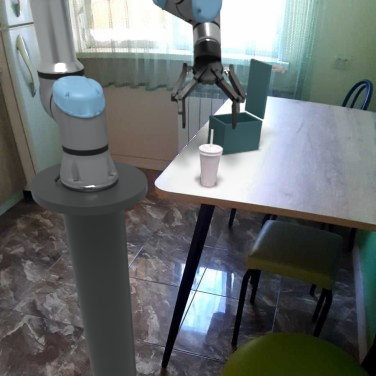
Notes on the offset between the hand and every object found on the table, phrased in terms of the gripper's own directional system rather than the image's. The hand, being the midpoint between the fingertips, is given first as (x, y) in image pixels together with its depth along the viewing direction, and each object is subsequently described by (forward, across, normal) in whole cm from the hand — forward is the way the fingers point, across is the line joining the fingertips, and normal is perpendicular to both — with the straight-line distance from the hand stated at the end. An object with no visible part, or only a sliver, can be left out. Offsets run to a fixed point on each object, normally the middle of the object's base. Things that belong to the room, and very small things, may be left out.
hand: (209, 126), depth 110 cm
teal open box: (-8, -11, -26) cm, 29 cm away
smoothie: (+14, 0, -5) cm, 15 cm away
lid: (-21, -17, -16) cm, 32 cm away
